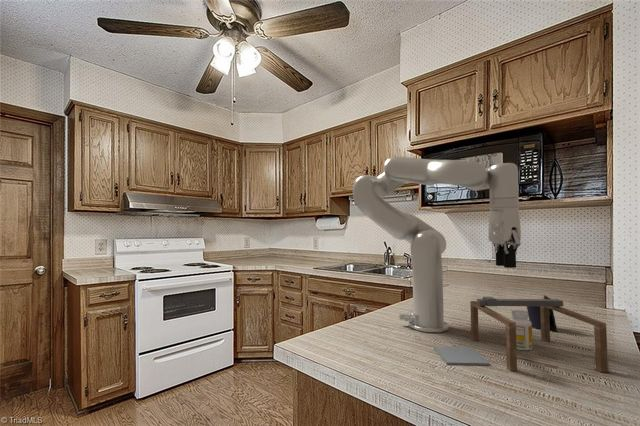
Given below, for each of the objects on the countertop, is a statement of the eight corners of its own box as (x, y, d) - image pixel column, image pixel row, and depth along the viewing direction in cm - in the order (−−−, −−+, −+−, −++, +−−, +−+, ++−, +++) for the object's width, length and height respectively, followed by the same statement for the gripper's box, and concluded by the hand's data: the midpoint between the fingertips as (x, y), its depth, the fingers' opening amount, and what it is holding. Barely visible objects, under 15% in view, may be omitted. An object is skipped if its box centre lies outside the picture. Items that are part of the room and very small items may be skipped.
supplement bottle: (523, 343, 90) (522, 308, 91) (537, 350, 85) (536, 313, 85) (505, 343, 90) (504, 308, 91) (517, 351, 85) (516, 314, 85)
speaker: (558, 327, 104) (553, 294, 105) (557, 332, 100) (552, 298, 100) (530, 324, 109) (526, 294, 109) (528, 330, 104) (523, 298, 105)
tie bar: (480, 306, 87) (480, 298, 87) (476, 303, 90) (476, 296, 90) (564, 306, 86) (564, 299, 86) (557, 304, 89) (556, 297, 89)
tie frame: (510, 371, 73) (509, 322, 74) (471, 338, 94) (470, 301, 95) (608, 372, 72) (606, 323, 73) (546, 339, 93) (545, 301, 94)
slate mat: (446, 364, 77) (446, 362, 77) (434, 348, 87) (434, 346, 87) (489, 365, 76) (489, 363, 76) (471, 349, 86) (471, 347, 86)
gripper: (478, 206, 104) (480, 263, 104) (506, 203, 88) (508, 270, 87) (502, 206, 104) (503, 263, 103) (534, 202, 87) (536, 270, 87)
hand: (505, 266), depth 95 cm, fingers open, 3 cm apart
